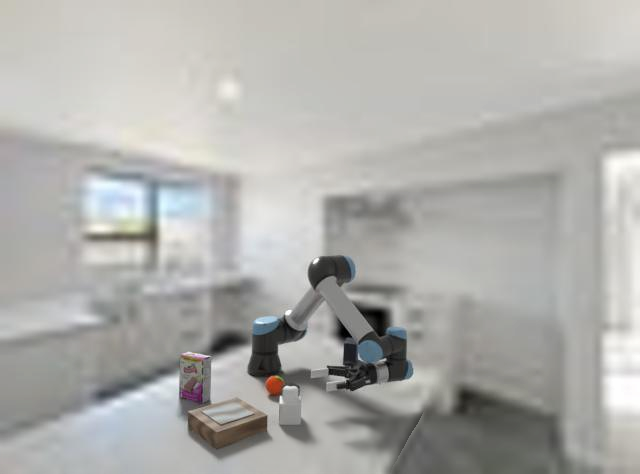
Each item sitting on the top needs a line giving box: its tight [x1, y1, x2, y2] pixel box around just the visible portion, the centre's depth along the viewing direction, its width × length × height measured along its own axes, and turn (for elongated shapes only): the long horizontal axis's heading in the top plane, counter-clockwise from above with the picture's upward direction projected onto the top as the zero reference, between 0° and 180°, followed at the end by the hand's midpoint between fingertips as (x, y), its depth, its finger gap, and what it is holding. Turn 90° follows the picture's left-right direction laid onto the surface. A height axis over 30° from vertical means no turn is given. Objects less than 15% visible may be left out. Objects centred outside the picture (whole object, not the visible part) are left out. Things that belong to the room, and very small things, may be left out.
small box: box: [342, 337, 359, 367], centre depth 210 cm, size 11×6×10 cm, turn 168°
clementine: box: [265, 375, 286, 395], centre depth 168 cm, size 8×7×7 cm
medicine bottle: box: [278, 382, 302, 426], centre depth 145 cm, size 7×7×12 cm
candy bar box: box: [178, 351, 212, 404], centre depth 161 cm, size 11×5×16 cm, turn 65°
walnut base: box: [187, 397, 269, 450], centre depth 138 cm, size 18×18×5 cm
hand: (318, 380), depth 149 cm, fingers open, 13 cm apart
